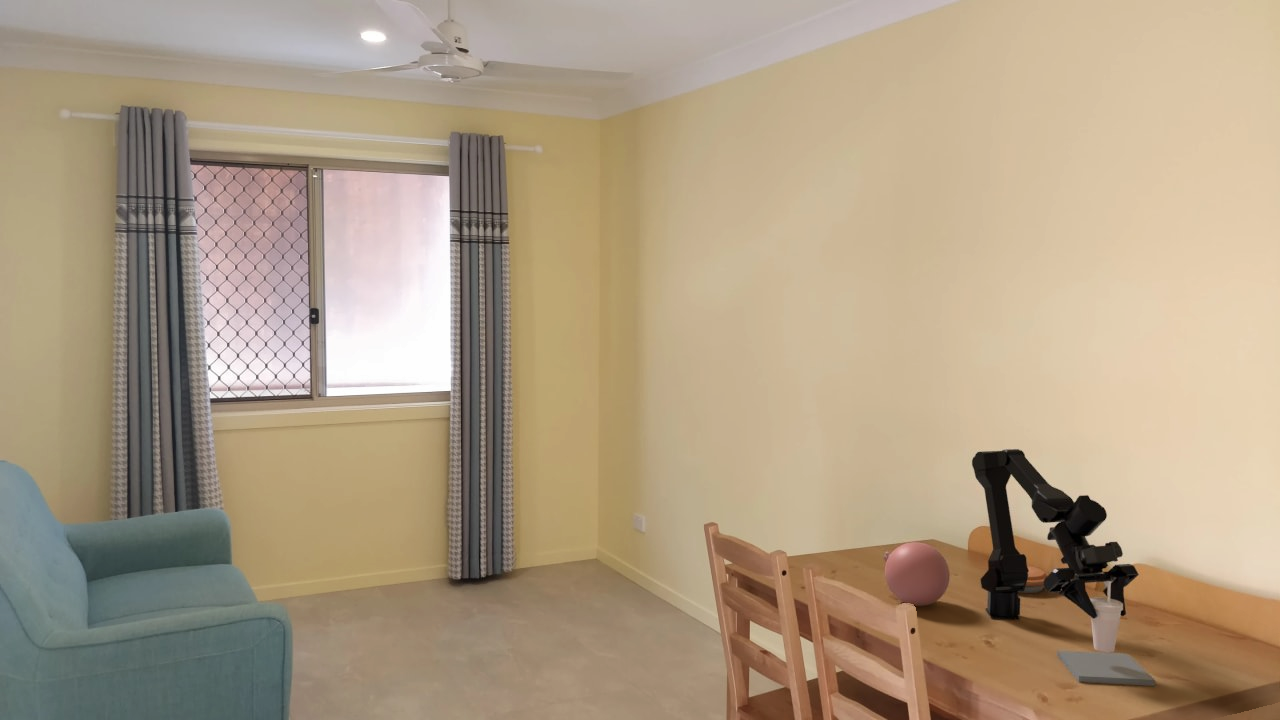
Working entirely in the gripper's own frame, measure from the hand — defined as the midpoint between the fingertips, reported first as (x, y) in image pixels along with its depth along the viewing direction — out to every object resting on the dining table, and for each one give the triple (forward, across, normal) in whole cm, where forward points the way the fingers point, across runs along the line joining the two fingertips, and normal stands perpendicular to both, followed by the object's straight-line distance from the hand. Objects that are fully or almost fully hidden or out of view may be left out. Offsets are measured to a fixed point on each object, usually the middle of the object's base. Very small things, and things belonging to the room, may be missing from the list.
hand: (1109, 616), depth 188 cm
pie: (-31, +18, +49) cm, 60 cm away
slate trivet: (+7, 0, +9) cm, 11 cm away
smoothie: (+4, 0, +6) cm, 7 cm away
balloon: (-27, -16, +44) cm, 54 cm away
